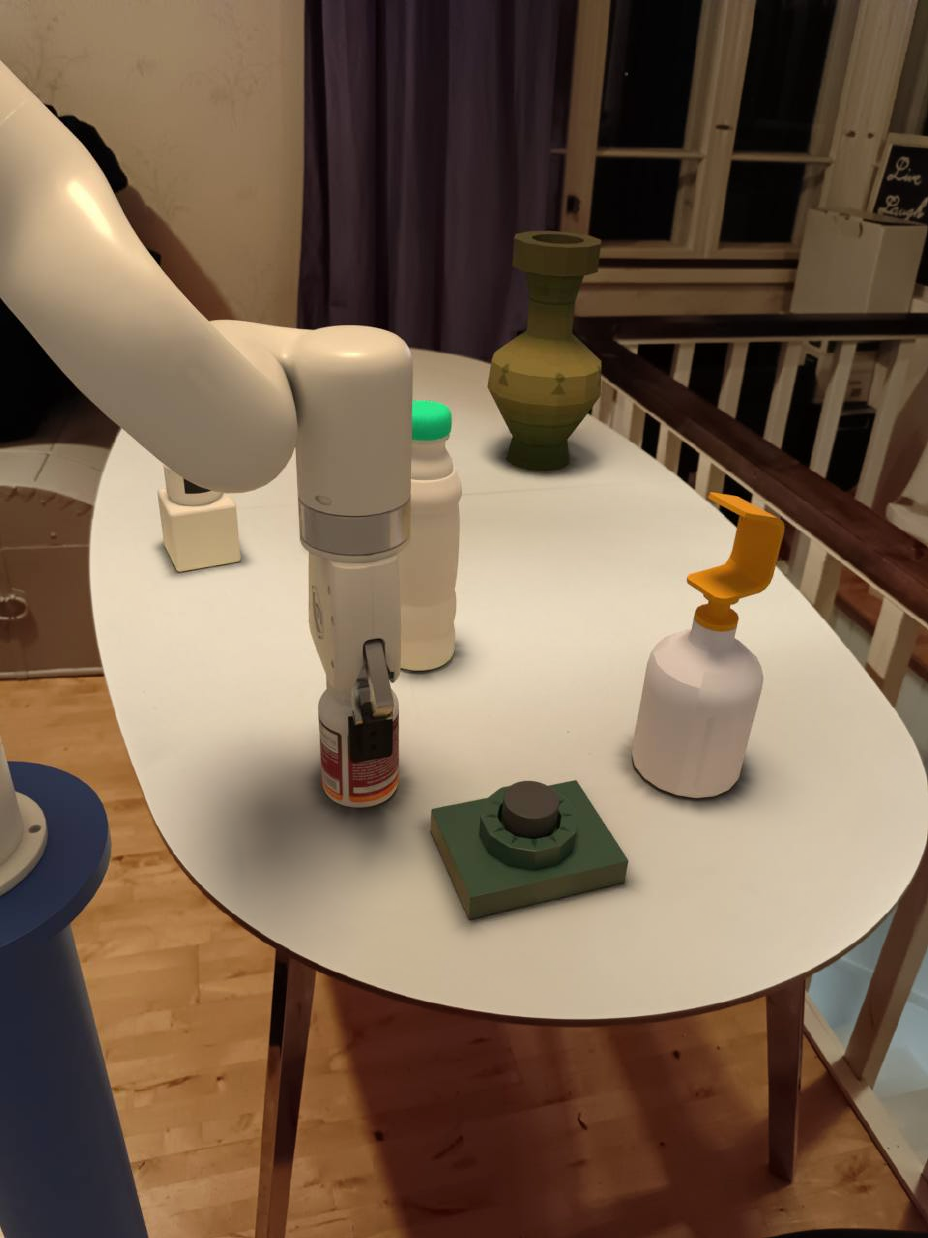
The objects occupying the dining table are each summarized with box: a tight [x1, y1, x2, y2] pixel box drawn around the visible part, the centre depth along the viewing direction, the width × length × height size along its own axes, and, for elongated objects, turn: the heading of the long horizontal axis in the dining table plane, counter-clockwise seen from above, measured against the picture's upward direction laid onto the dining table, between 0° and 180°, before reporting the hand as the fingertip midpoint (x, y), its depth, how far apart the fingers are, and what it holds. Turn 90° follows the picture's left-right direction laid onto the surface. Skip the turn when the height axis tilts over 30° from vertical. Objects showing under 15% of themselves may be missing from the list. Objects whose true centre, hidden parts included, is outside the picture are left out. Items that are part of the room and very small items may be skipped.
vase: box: [486, 230, 602, 473], centre depth 130 cm, size 16×16×30 cm
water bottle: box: [398, 399, 463, 672], centre depth 87 cm, size 7×7×25 cm
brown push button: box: [502, 780, 559, 839], centre depth 69 cm, size 4×4×2 cm
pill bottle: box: [317, 669, 400, 808], centre depth 74 cm, size 6×6×11 cm
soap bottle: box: [630, 491, 785, 799], centre depth 74 cm, size 9×9×25 cm
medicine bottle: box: [156, 463, 241, 573], centre depth 106 cm, size 7×7×12 cm
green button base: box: [430, 779, 629, 920], centre depth 70 cm, size 12×9×4 cm
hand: (358, 725), depth 74 cm, fingers open, 7 cm apart
